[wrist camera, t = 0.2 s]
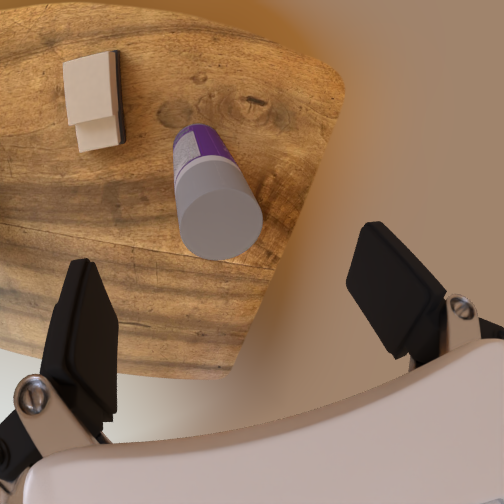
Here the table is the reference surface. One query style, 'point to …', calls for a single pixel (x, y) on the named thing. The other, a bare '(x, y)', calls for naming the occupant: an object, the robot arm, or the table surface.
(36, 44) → the table surface
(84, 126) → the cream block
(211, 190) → the container
